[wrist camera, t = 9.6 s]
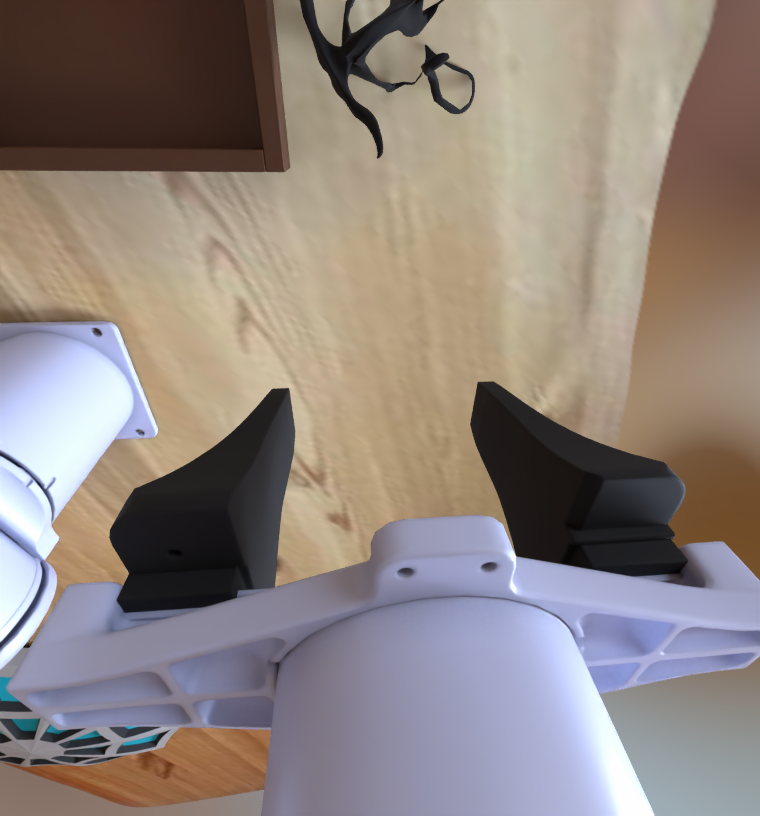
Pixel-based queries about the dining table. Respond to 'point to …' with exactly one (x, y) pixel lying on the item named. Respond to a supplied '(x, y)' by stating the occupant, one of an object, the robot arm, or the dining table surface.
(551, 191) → the dining table surface
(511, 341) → the dining table surface
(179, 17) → the tray
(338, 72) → the creature
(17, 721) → the decorative platform
